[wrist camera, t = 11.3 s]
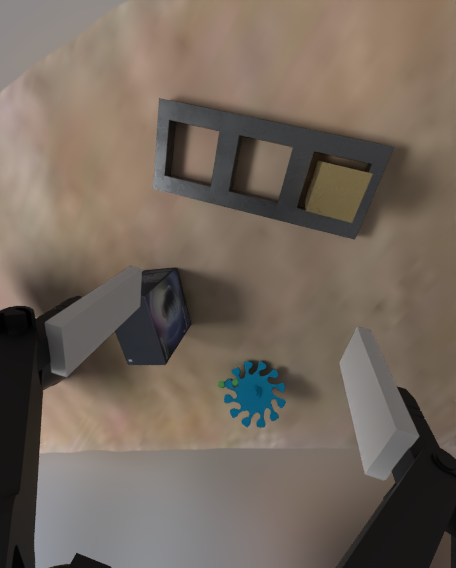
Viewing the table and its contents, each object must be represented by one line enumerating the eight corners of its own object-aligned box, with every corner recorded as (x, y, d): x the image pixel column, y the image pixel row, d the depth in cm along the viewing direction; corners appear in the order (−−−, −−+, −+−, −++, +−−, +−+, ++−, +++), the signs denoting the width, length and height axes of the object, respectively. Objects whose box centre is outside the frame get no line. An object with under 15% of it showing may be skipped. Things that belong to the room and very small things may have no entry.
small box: (194, 325, 46) (167, 367, 37) (160, 326, 48) (126, 366, 39) (179, 266, 42) (144, 297, 33) (142, 269, 44) (99, 300, 35)
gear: (293, 372, 43) (276, 439, 40) (292, 374, 48) (277, 434, 46) (228, 350, 46) (207, 411, 43) (234, 354, 52) (216, 409, 49)
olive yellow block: (304, 199, 34) (305, 210, 27) (317, 160, 32) (322, 161, 25) (340, 209, 33) (351, 222, 26) (356, 170, 31) (372, 173, 24)
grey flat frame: (160, 187, 37) (153, 188, 36) (166, 101, 33) (159, 98, 31) (351, 235, 34) (354, 239, 32) (388, 147, 30) (394, 146, 28)
